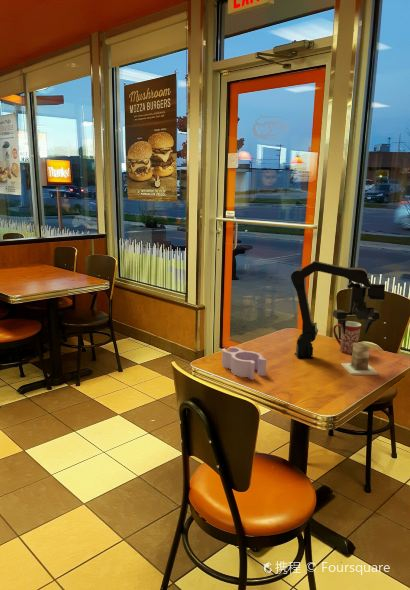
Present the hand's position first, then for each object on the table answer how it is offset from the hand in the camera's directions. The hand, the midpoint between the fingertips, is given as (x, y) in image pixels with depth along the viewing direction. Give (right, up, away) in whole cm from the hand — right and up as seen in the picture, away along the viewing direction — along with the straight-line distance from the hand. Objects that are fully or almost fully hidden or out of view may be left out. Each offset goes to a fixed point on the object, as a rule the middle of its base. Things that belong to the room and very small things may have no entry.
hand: (354, 333), depth 192 cm
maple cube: (0, -9, -6) cm, 11 cm away
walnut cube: (0, -14, -5) cm, 15 cm away
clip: (-49, -14, -8) cm, 51 cm away
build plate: (0, -14, -5) cm, 15 cm away
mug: (+2, -10, +19) cm, 21 cm away
